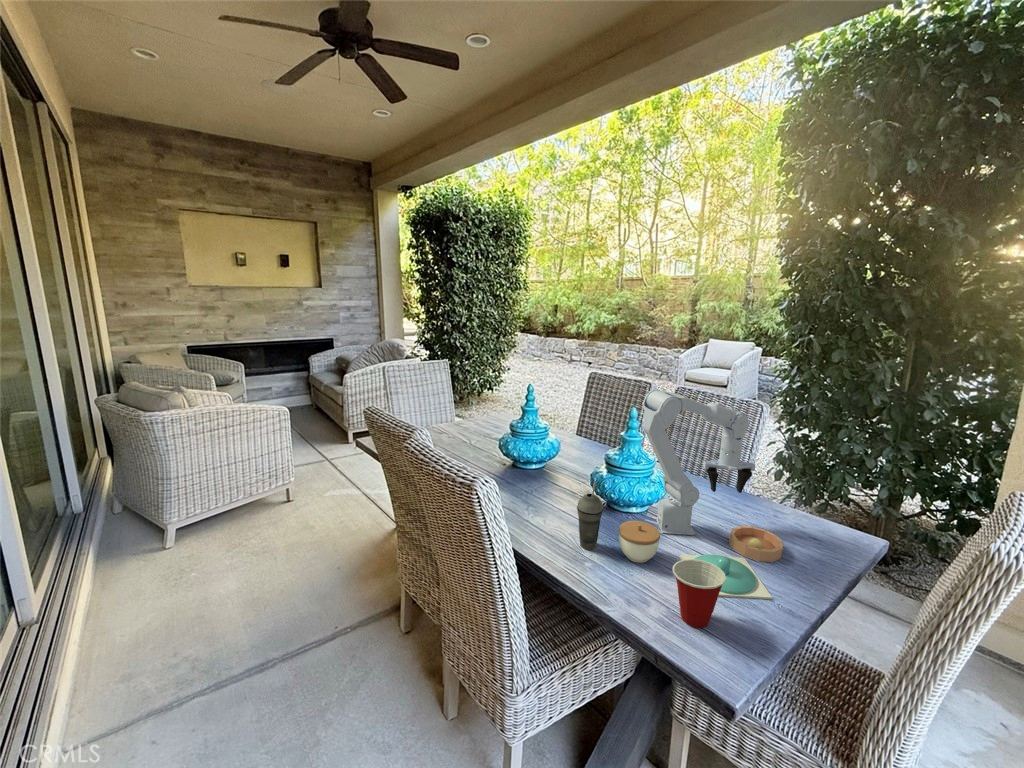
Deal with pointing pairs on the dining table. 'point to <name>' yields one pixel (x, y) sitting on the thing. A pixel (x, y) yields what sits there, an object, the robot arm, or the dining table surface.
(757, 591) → the mat
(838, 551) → the dining table surface
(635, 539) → the lidded jar
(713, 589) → the plastic cup
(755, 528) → the bowl
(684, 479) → the robot arm
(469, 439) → the dining table surface
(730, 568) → the lid
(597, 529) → the beverage cup
